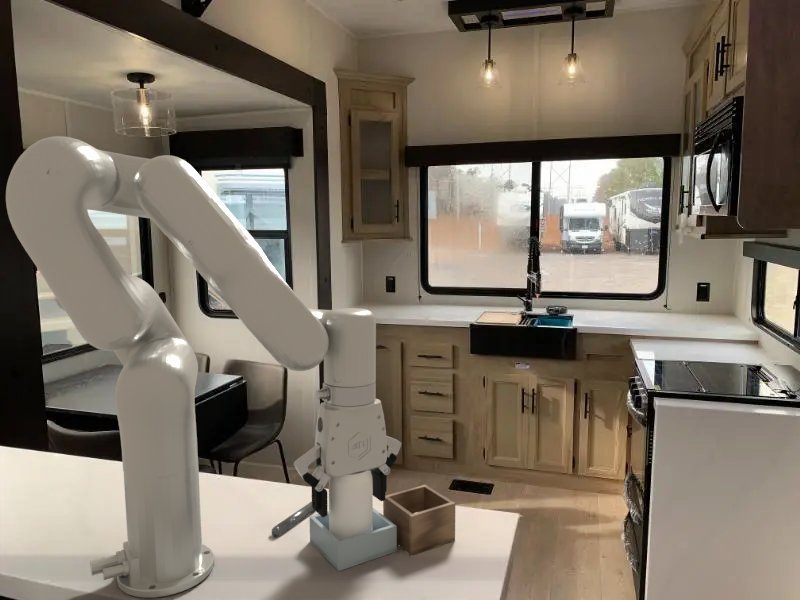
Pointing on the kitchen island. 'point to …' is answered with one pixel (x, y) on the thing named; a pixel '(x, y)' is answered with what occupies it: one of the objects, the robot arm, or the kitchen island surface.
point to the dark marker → (292, 520)
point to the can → (350, 505)
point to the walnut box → (421, 518)
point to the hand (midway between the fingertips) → (350, 505)
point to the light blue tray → (354, 541)
